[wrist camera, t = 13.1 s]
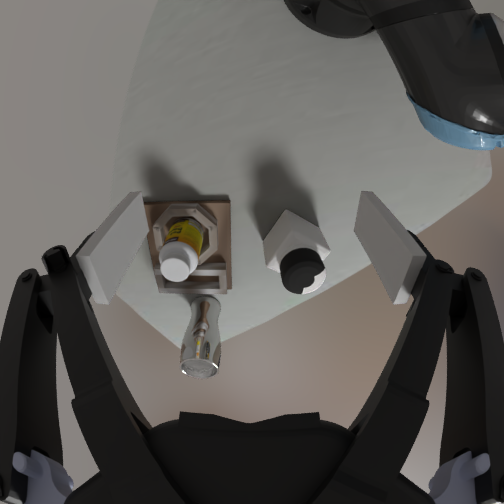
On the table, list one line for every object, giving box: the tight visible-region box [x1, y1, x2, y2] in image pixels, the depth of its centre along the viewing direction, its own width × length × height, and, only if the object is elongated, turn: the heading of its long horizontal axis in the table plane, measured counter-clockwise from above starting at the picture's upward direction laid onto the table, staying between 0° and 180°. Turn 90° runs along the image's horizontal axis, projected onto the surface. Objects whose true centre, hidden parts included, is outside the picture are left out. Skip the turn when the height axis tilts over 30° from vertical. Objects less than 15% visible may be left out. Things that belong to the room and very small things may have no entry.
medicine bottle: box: [263, 209, 330, 294], centre depth 40 cm, size 7×7×12 cm
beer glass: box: [180, 296, 221, 379], centre depth 47 cm, size 7×7×15 cm
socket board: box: [144, 200, 232, 294], centre depth 44 cm, size 14×17×3 cm
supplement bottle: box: [159, 218, 204, 282], centre depth 39 cm, size 6×6×10 cm
